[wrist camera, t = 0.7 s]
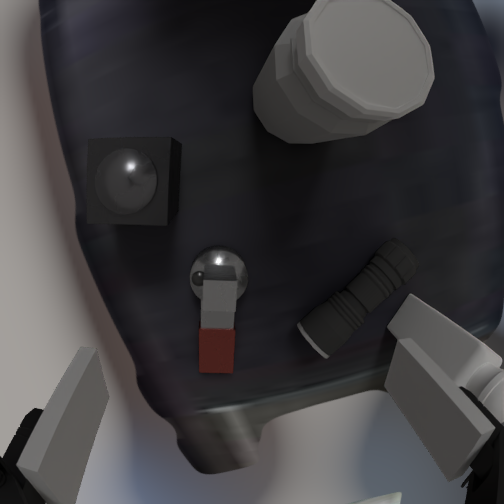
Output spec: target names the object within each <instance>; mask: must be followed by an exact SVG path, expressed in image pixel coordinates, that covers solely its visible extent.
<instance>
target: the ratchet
mask: <svg viewBox="0 0 504 504" xmlns="http://www.w3.org/2000/svg"><path fill="white" fill-rule="evenodd" d="M247 283H248V273H247V269H246V266H245V263H244V260H243V259H242V257H241V256H240V255H239V254H238V253H237V252H236V251H235V250H233V249H231V248H229V247H225V246H212V247H209V248H206V249H204V250H203V251H201V252H200V253H199V254H198V255H197V256H196V258H195V259H194V261H193V264H192V268H191V272H190V284H191V287H192V289H193V291H194V293H195V294H196V295H197V297H198V298H200V299H201V321H200V322H199V372H201V373H233V364H234V346H235V324H234V312H236V300H237V299H238V298H239V297H240V296H241V295H242V294H243V293H244V291H245V289H246V287H247Z"/></svg>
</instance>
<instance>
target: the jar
mask: <svg viewBox="0 0 504 504" xmlns="http://www.w3.org/2000/svg"><path fill="white" fill-rule="evenodd" d="M434 78H435V77H434V69H433V62H432V55H431V49H430V45H429V43H428V42H427V40H426V38H425V37H424V35H423V33H422V32H421V30H420V28H419V27H418V25H417V24H416V22H415V21H414V19H413V18H412V16H411V15H409V14H408V13H407V12H406V11H404V10H403V9H402V8H400V7H399V6H398V5H396V4H395V3H394V2H392V1H391V0H316V2H315V3H314V5H313V6H312V8H311V9H310V11H309V12H308V13H306V14H304V15H301V16H299V17H296V18H294V19H291V21H290V22H289V24H288V25H287V27H286V28H285V30H284V31H283V33H282V34H281V36H280V37H279V39H278V41H277V42H276V44H275V45H274V47H273V49H272V51H271V53H270V55H269V56H268V58H267V60H266V62H265V64H264V66H263V68H262V70H261V72H260V74H259V76H258V77H257V79H256V81H255V83H254V85H253V107H254V112H255V113H256V115H257V116H258V118H259V119H260V121H261V123H262V124H263V126H264V127H265V129H266V130H267V132H269V133H271V134H273V135H275V136H277V137H278V138H280V139H282V140H284V141H286V142H287V143H300V144H314V143H320V142H325V141H331V140H337V139H343V138H349V137H356V136H362V135H366V134H368V133H370V132H372V131H373V130H375V129H377V128H378V127H380V126H382V125H384V124H386V123H387V122H389V121H391V120H392V119H397V118H400V117H402V116H403V115H405V114H407V113H409V112H411V111H412V110H414V109H416V108H418V107H420V106H421V105H423V104H424V102H425V100H426V98H427V95H428V93H429V90H430V88H431V85H432V83H433V81H434Z"/></svg>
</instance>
